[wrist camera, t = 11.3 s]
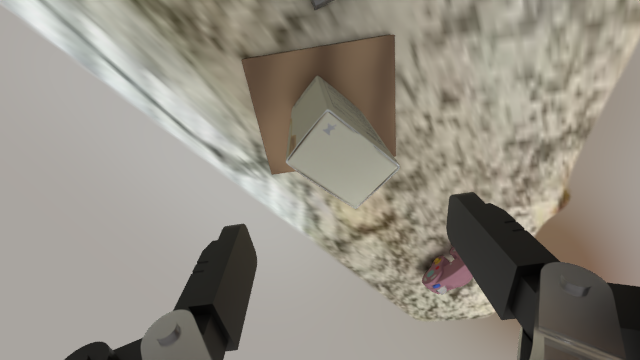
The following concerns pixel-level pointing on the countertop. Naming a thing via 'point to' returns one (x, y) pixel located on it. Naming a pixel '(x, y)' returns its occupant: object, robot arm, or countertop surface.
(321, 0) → the rubber block
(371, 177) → the skincare box
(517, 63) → the countertop surface
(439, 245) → the countertop surface
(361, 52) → the wooden board
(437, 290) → the video game controller
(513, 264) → the robot arm
